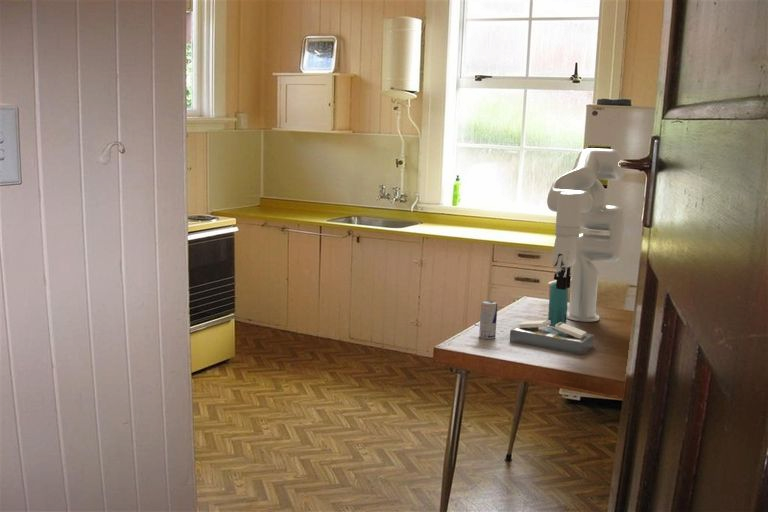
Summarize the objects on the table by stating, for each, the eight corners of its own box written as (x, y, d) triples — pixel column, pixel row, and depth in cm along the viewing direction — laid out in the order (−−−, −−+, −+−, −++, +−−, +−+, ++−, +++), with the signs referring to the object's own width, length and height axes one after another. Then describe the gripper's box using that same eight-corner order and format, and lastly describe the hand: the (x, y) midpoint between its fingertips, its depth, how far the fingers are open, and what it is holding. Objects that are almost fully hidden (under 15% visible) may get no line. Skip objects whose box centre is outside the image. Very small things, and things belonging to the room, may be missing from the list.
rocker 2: (559, 325, 258) (560, 321, 258) (585, 335, 254) (586, 331, 254) (554, 328, 254) (555, 324, 254) (580, 338, 250) (581, 335, 250)
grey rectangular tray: (523, 333, 269) (524, 319, 268) (592, 346, 257) (594, 331, 256) (509, 341, 259) (510, 327, 258) (581, 355, 247) (582, 340, 246)
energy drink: (497, 336, 264) (500, 301, 262) (491, 340, 260) (493, 304, 258) (483, 334, 267) (485, 299, 265) (476, 337, 262) (478, 302, 260)
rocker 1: (525, 324, 265) (524, 321, 265) (550, 323, 260) (550, 320, 260) (519, 327, 260) (519, 324, 260) (545, 326, 256) (544, 323, 256)
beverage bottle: (566, 332, 273) (570, 275, 269) (546, 330, 274) (550, 274, 271) (565, 327, 279) (570, 272, 276) (546, 326, 280) (550, 270, 277)
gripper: (564, 227, 259) (560, 282, 262) (547, 232, 245) (542, 290, 248) (587, 230, 255) (582, 285, 258) (570, 235, 241) (565, 294, 245)
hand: (563, 287), depth 253 cm, fingers open, 2 cm apart
